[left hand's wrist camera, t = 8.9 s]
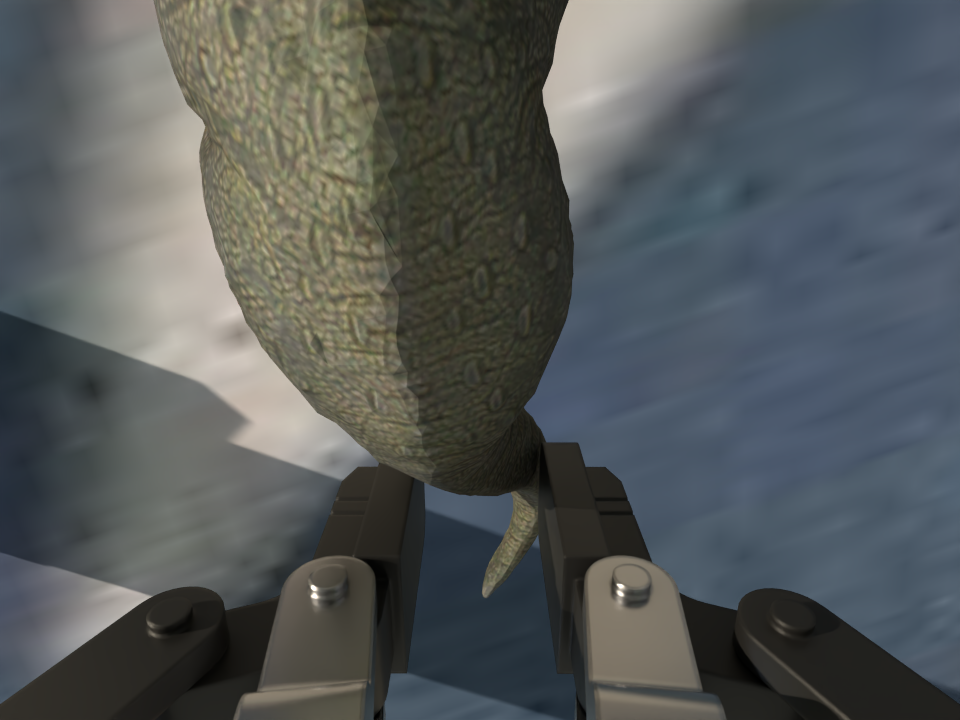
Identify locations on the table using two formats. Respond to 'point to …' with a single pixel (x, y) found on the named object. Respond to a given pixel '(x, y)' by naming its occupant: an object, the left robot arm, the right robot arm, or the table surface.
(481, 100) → the toy dinosaur
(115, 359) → the table surface
